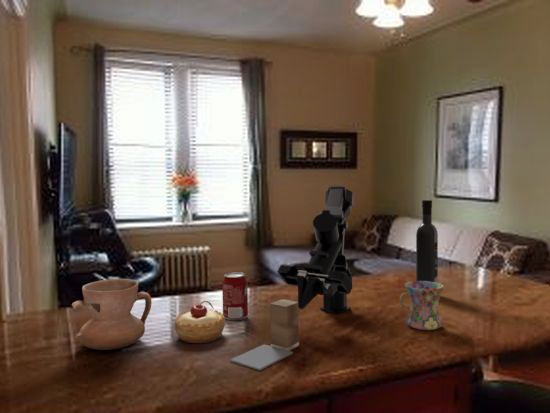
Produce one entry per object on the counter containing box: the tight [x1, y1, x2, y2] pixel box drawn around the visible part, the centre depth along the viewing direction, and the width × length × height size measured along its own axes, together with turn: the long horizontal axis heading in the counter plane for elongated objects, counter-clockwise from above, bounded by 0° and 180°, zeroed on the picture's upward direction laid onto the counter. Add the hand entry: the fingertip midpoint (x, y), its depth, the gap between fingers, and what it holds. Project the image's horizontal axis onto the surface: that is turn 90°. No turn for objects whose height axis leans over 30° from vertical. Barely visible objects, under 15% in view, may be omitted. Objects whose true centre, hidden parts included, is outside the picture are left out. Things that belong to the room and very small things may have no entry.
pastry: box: [174, 300, 226, 344], centre depth 113 cm, size 12×12×9 cm
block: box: [269, 298, 300, 351], centre depth 106 cm, size 4×4×10 cm
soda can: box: [221, 272, 249, 322], centre depth 128 cm, size 7×7×12 cm
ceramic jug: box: [71, 278, 153, 351], centre depth 109 cm, size 18×14×14 cm
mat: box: [230, 344, 294, 372], centre depth 100 cm, size 11×8×1 cm
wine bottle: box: [415, 199, 439, 283], centre depth 147 cm, size 6×6×30 cm
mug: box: [398, 280, 445, 331], centre depth 117 cm, size 12×9×11 cm
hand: (300, 308), depth 110 cm, fingers closed
